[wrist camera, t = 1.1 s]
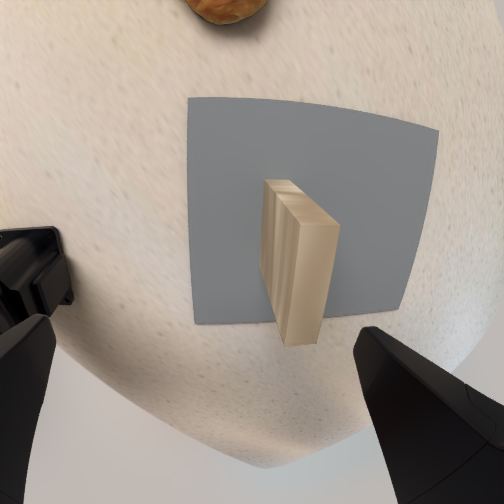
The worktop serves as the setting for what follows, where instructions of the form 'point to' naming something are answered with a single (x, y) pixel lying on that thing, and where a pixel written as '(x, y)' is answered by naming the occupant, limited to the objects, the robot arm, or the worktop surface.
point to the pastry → (225, 9)
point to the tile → (296, 259)
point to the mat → (314, 186)
